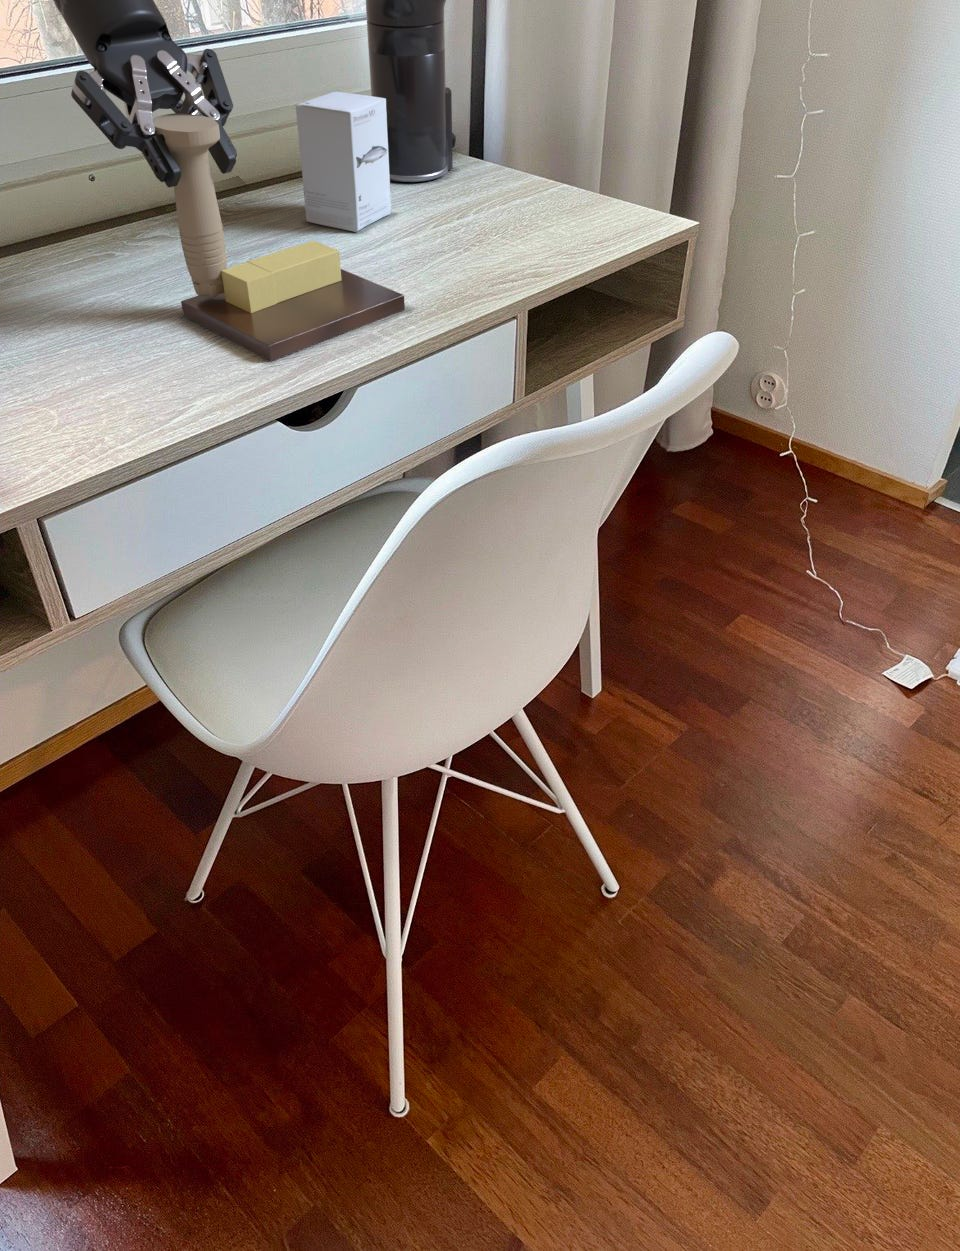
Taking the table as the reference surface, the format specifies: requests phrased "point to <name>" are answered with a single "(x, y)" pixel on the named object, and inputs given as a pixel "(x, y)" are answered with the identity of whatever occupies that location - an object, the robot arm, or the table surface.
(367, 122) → the white packaging box
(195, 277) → the handle
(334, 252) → the butter stick
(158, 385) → the table surface
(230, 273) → the butter pat
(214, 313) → the board
